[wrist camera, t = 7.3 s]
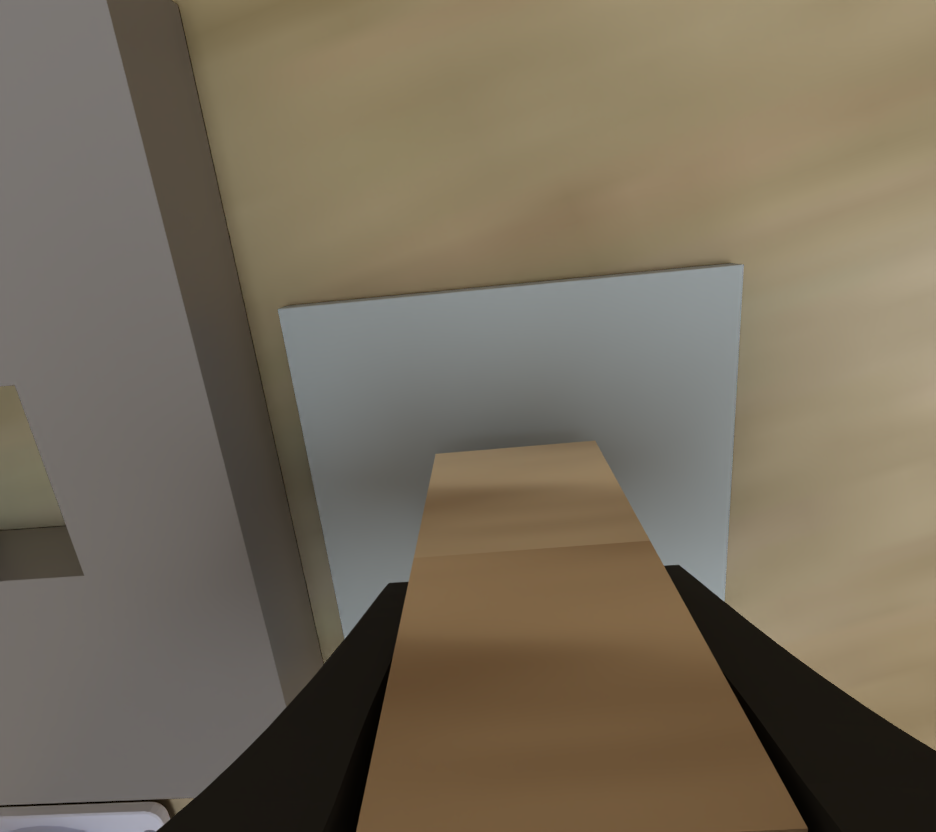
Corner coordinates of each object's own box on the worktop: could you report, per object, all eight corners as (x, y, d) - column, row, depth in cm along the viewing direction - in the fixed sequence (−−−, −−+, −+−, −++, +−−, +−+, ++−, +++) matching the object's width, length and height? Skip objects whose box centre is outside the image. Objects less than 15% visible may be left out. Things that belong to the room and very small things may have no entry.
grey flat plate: (334, 712, 16) (308, 793, 14) (-42, 730, 17) (-126, 809, 15) (177, 4, 11) (90, -59, 9) (-368, 77, 12) (-586, 37, 9)
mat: (712, 637, 15) (721, 653, 15) (356, 656, 16) (351, 672, 15) (731, 263, 12) (743, 264, 12) (287, 305, 13) (277, 308, 12)
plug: (599, 578, 13) (773, 1091, 5) (452, 588, 13) (410, 1098, 5) (594, 440, 12) (807, 829, 4) (435, 453, 12) (351, 849, 4)
